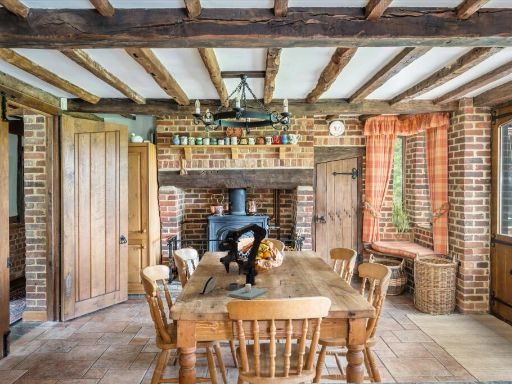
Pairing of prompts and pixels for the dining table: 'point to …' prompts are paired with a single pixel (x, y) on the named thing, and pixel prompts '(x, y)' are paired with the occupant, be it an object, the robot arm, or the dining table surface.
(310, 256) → the dining table surface
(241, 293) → the piston plate
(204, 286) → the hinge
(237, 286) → the ring
